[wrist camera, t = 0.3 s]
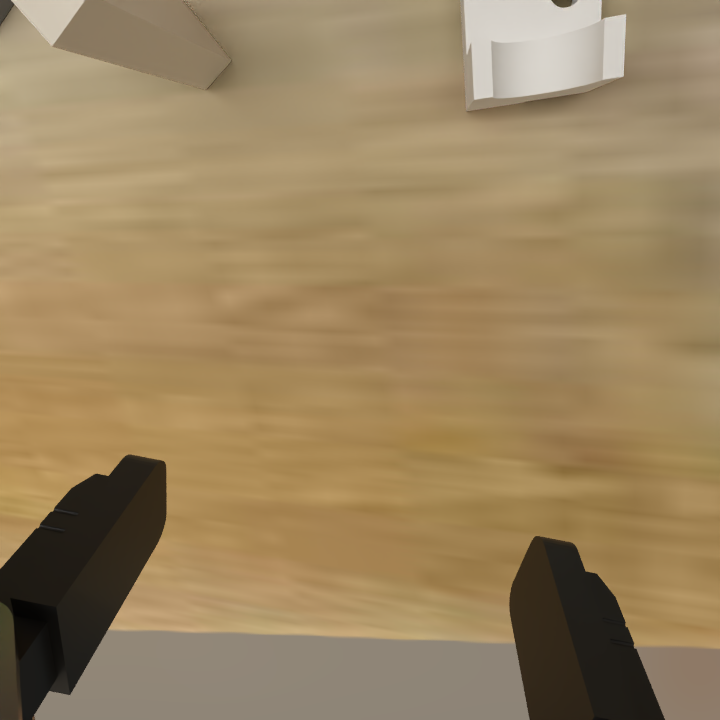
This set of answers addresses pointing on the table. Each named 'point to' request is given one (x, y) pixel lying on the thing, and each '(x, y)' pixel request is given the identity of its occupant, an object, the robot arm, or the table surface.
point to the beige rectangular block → (132, 36)
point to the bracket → (537, 50)
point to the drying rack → (5, 8)
